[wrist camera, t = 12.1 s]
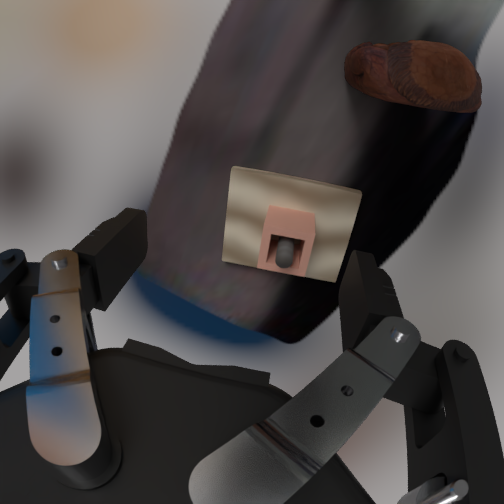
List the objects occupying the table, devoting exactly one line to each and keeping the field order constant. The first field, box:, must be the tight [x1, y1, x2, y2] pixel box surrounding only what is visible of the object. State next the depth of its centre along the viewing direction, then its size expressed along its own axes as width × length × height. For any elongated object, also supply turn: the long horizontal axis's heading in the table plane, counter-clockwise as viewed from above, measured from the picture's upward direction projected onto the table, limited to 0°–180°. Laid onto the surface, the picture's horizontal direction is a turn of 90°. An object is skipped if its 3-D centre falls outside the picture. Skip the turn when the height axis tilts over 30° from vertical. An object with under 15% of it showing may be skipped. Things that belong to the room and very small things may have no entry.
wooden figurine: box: [344, 40, 482, 113], centre depth 24 cm, size 12×6×18 cm, turn 93°
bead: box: [257, 205, 316, 277], centre depth 40 cm, size 6×6×6 cm
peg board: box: [222, 166, 362, 282], centre depth 40 cm, size 14×17×10 cm
